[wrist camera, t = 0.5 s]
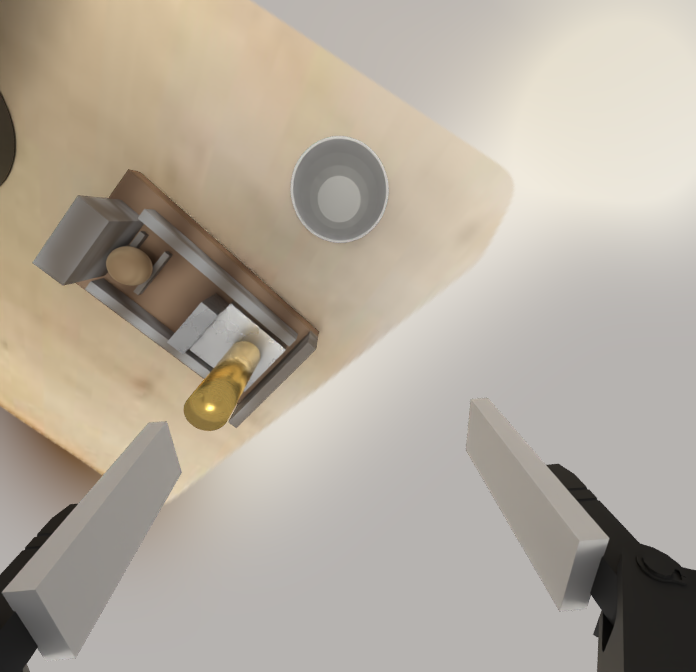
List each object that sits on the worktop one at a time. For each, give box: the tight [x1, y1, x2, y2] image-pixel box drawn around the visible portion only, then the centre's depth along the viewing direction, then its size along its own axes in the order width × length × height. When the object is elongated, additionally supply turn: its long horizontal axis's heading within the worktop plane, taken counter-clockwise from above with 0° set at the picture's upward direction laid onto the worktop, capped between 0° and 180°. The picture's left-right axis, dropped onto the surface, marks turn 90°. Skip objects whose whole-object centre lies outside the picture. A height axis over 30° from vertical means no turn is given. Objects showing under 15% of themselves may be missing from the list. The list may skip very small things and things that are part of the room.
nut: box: [106, 246, 153, 286], centre depth 34 cm, size 4×4×4 cm
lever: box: [167, 293, 288, 431], centre depth 33 cm, size 10×8×14 cm
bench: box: [33, 169, 319, 428], centre depth 36 cm, size 26×14×8 cm, turn 45°
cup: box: [291, 136, 389, 243], centre depth 32 cm, size 8×8×10 cm
